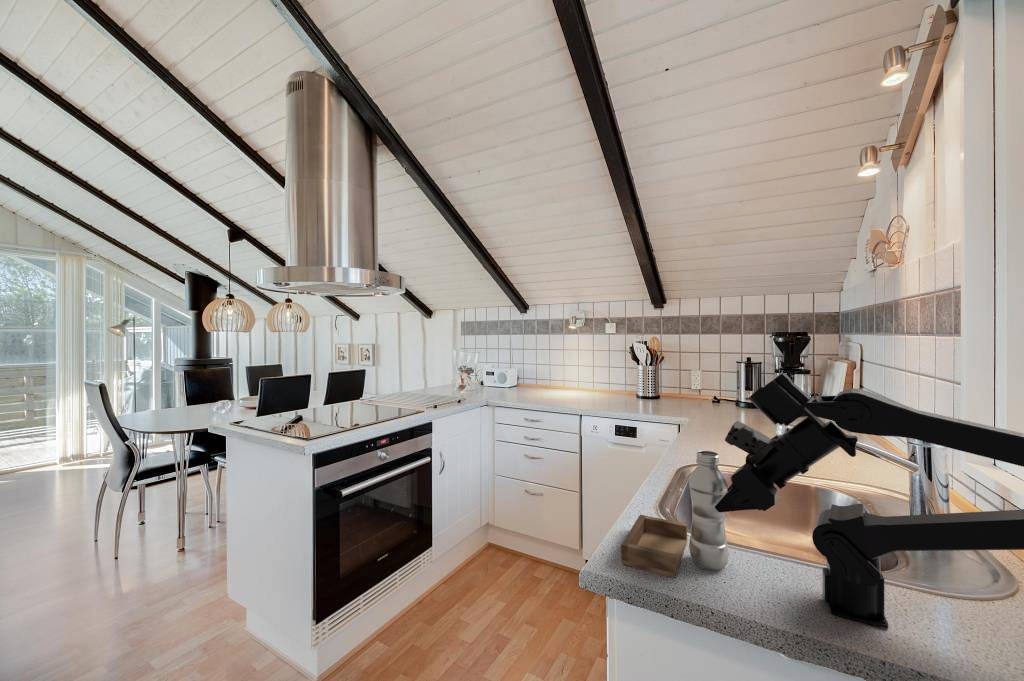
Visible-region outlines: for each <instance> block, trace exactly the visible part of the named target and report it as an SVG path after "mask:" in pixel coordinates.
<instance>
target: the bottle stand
mask: <svg viewBox="0 0 1024 681" xmlns="http://www.w3.org/2000/svg"><path fill="white" fill-rule="evenodd" d="M687 544H688V523H684V522H679V521H674V520H669V519H664V518H660V517H653V516H648V515H644V514H639V516H638V517H637V519H636V520H635V522H634V524H633V525H632V527H631V528H630V530H629V532H628V533H627V535H626V536H625V538H624V540H623V541H622V543H621V545H620V554H621V555H620V556H621V557H620V558H621V561H620V562H621V563H620V564H621V565H623V564H625V565H624V566H627V565H628V567H630V566H632V567H631V568H634V567H635V569H639V570H642V569H643V570H642V571H646V570H647V572H649V571H650V573H653V572H654V574H658V575H661V576H662V575H663V576H666V577H668V578H673V579H676V577H677V575H678V571H679V568H680V566H681V562H682V560H681V559H683V556H684V554H685V550H686V547H687Z"/></svg>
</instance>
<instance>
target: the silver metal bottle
mask: <svg viewBox="0 0 1024 681" xmlns="http://www.w3.org/2000/svg"><path fill="white" fill-rule="evenodd" d="M695 463H696V464H697V466H696V467H694V469H693V470H692V472H691V473H690V475H689V479H688V488H689V494H690V499H691V510H692V512H691V515H692V520H691V522H692V523H691V534H690V537H689V543H688V549H689V554H690V557H691V559H692V561H693V562H694V563H695V564H696V565H697V566H699V568H700V567H701V568H702V569H706V570H709V571H710V570H711V571H721V570H722V569H725V567H726V566H727V565H728V563H729V557H730V552H729V546H728V542H727V535H726V534H727V533H726V524H725V523H726V522H725V516H726V512H718V511H717V510H716V509H715V506H716V504H717V503H718V502H719V501H720V500H721V499H722V498H723V497H724V496H725V495H726V493H727V489H728V488H729V487H728V486H729V485H728V482H727V479H726V477H725V475H724V474H723V473H722V471H721V470H720V468H719V466H720V455H719V452H716V451H711V450H698V451H697V452H696V459H695Z"/></svg>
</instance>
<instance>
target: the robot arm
mask: <svg viewBox="0 0 1024 681" xmlns="http://www.w3.org/2000/svg"><path fill="white" fill-rule="evenodd" d="M747 399H748V400H749V401H750V402H751V403H752V404H753V405H754V406H755V407H756V408H757V409H758V410H759V411H760V412H761V413H762V414H763V415H764V416H765V417H766V418H767V419H769V420H770V422H772V424H773V425H777V424H779V425H780V426H783V425H784V426H785V427H788V426H789V425H790V424H792V423H793V422H795V421H796V420H798V419H799V418H800V417H801V416H803V415H805V416H806V417H805V418H804V419H802V420H801V421H800V422H798V423H797V424H795V425H794V426H792V427H791V428H790V429H789V430H787V431H785V432H784V433H782V434H779V435H778V434H776V435H774V436H773V437H772V438H771V437H769V436H767V435H765V434H764V433H762V432H761V431H759V430H757V429H755V428H753V427H750V426H749V425H748V424H745V423H744V422H741V421H739V420H737V421H735V422H733V424H732V425H731V427H730V429H729V431H728V432H727V434H726V437H725V438H724V441H725V442H726V443H727V444H729V445H731V446H735V447H736V448H738V449H740V450H742V451H743V452H745V453H747V454H746V456H745V463H744V464H743V465H741V466H740V467H738V469H736V470H735V471H734V472H733V473H732V475H731V476H730V481H731V484H730V486H729V487H728V489H727V493H726V495H725V496H724V497H723V498H722V499H721V500H720V501H719V502H718V503H717V504H716V506H715V509H716V510H717V511H718V512H725V513H728V512H737V511H739V512H740V511H753V510H755V511H756V510H758V511H763V512H767V510H769V509H771V508H773V507H774V506H776V503H777V499H778V488H779V489H780V490H781V489H783V488H784V487H786V486H787V482H789V481H790V480H792V479H793V478H795V477H796V476H798V475H799V474H801V475H804V474H806V473H807V472H809V470H810V468H811V466H814V465H815V464H816V463H817V462H819V461H821V460H823V459H824V458H826V456H828V455H830V454H831V453H833V452H834V451H835V450H838V449H839V448H841V449H842V450H843V451H844V452H845V453H847V454H848V455H849V457H853V458H854V457H856V456H857V448H856V446H857V442H858V438H859V437H858V436H857V435H850V434H846V433H845V432H844V431H846V432H847V431H848V432H849V433H855V434H862V435H863V434H864V435H871V436H876V437H877V436H878V437H896V438H897V437H898V438H906V439H913V440H916V441H917V440H918V441H921V442H925V443H928V444H932V445H937V446H941V447H945V448H949V449H952V450H956V451H960V452H964V453H969V454H972V455H976V456H979V457H984V458H988V459H991V460H995V461H999V462H1004V463H1008V464H1011V465H1016V466H1020V467H1023V468H1024V433H1023V432H1019V431H1014V430H1009V429H1005V428H1000V427H997V426H993V425H992V426H991V425H986V424H982V423H979V422H974V421H970V420H969V421H968V420H966V419H965V420H964V419H960V418H956V417H951V416H947V415H942V414H938V413H933V412H930V411H929V412H928V411H924V410H919V409H917V408H913V407H910V406H907V405H904V404H902V403H900V402H898V401H895V400H893V399H890V398H887V397H886V396H885V397H884V396H883V395H879V394H876V393H873V392H871V391H868V390H866V389H862V388H855V387H854V388H853V387H852V388H847V389H844V390H842V391H839V392H838V393H837V394H836V395H821V396H820V395H817V396H816V395H815V396H809V395H808V394H806V393H805V391H803V389H801V388H800V387H799V386H798V385H797V384H795V383H794V382H793V380H792V379H791V378H790V377H789V376H788V375H787V374H786V372H783V373H779V375H777V376H776V377H775V378H773V379H772V380H771V381H770V382H768V383H766V384H764V385H763V386H760V387H759V389H757V390H756V391H755V392H754V393H752V394H751V395H750V396H749V397H748V398H747ZM822 419H825V420H829V421H827V422H825V421H823V420H822ZM843 430H844V431H843ZM775 485H776V486H777V487H778V488H777V487H776V486H775ZM811 538H812V542H813V545H814V547H815V548H816V550H817V551H818V552H819V553H820V554H821V555H822V556H823V557H825V559H826V567H822V568H821V569H822V570H821V572H822V573H821V574H822V575H821V576H822V577H821V578H822V582H821V583H822V584H821V585H822V596H823V599H824V602H825V603H826V604H828V608H829V612H830V614H832V616H833V615H834V616H837V617H842V618H843V619H844V618H845V619H849V620H853V621H857V622H860V623H865V624H867V625H868V624H869V625H872V626H877V627H881V628H884V629H889V623H888V619H887V618H886V615H885V611H886V610H885V577H884V575H883V573H882V571H881V557H883V556H885V555H888V554H891V553H896V552H935V551H936V552H938V551H939V552H940V551H943V552H945V551H950V552H951V551H956V552H957V551H958V552H959V551H1018V550H1019V551H1024V508H1023V509H1006V510H1004V509H1003V510H988V511H986V510H985V511H969V512H967V511H966V512H949V513H934V514H933V513H930V514H913V515H893V516H892V515H890V516H882V515H877V514H872V513H869V512H866V511H865V506H864V503H854V504H849V505H836V504H831V506H830V509H825V510H823V511H821V512H820V513H819V514H818V516H817V517H816V520H815V523H814V527H813V530H812V536H811Z"/></svg>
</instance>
